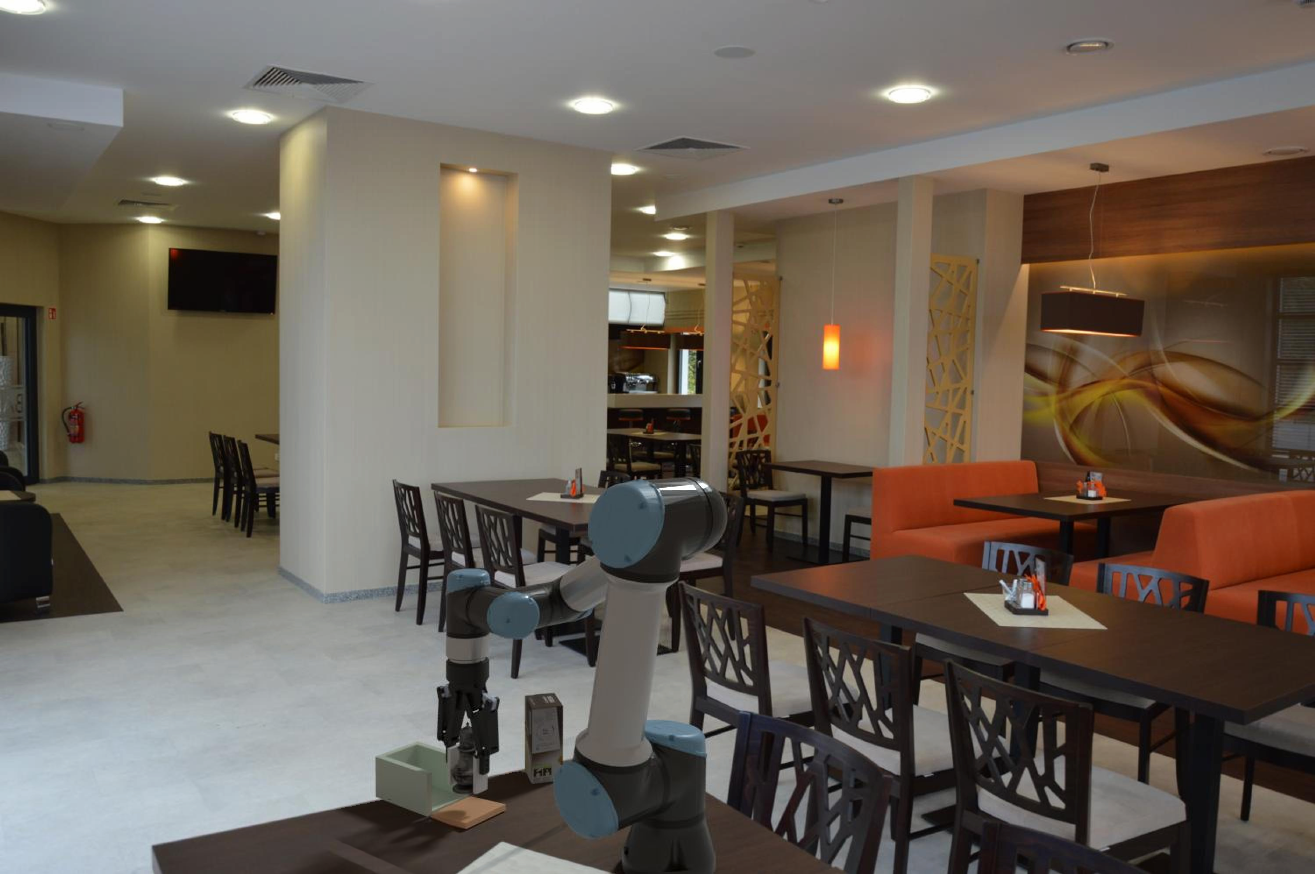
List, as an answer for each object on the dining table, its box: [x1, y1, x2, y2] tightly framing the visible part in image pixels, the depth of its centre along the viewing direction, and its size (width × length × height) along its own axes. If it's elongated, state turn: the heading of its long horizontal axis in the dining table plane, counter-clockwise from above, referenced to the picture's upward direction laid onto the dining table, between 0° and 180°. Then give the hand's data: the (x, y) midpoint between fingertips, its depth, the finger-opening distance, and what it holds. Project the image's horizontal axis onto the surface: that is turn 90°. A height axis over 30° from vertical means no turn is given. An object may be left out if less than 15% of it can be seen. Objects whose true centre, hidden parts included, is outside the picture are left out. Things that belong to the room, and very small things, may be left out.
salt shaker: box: [451, 721, 477, 795], centre depth 176 cm, size 6×6×12 cm
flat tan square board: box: [429, 795, 507, 830], centre depth 176 cm, size 1×10×9 cm
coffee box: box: [524, 692, 564, 785], centre depth 195 cm, size 9×6×16 cm
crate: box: [374, 741, 470, 817], centre depth 183 cm, size 14×10×9 cm
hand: (467, 786), depth 176 cm, fingers closed on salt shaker, 6 cm apart
